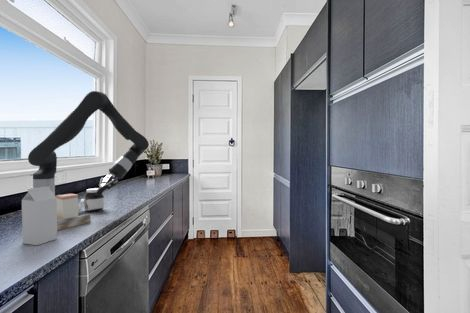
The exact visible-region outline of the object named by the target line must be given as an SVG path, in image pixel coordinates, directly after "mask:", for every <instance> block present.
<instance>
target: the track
mask: <svg viewBox="0 0 470 313" xmlns="http://www.w3.org/2000/svg"><path fill="white" fill-rule="evenodd" d="M91 219H92V218H91V213H89V214H88V213H87V214H83V212H82V211H80V212H78V216H77V217H72V218H67V219H62V220H57V231H58V230H59V231H60V230H62V229H66V228H71V227H75V226H80V225H83V224H84V225H85V224H88V223H91V221H92V220H91Z"/></svg>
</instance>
